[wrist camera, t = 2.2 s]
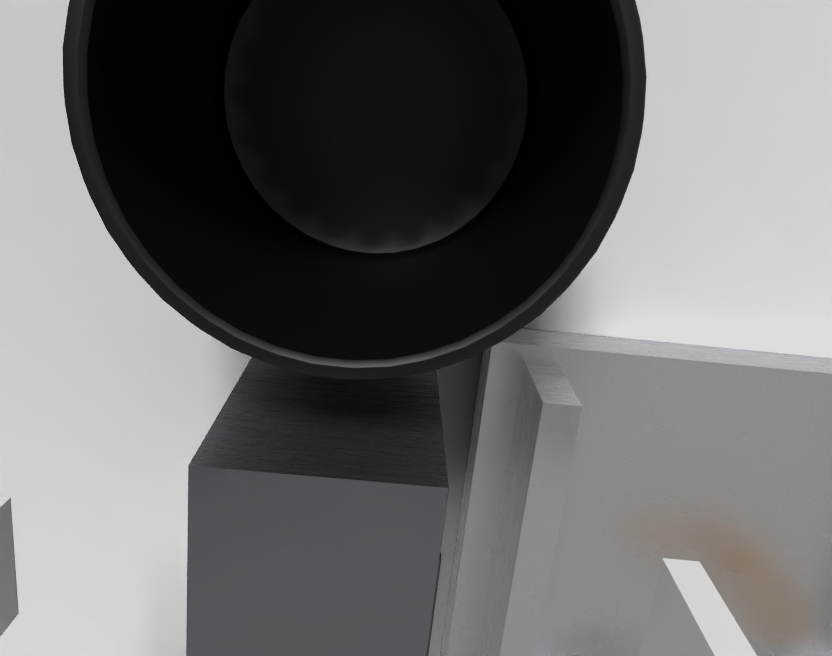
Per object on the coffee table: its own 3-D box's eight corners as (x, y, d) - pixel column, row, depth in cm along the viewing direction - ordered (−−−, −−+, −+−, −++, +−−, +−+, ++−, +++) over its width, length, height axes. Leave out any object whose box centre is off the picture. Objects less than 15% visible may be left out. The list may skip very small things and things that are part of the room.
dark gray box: (270, 480, 24) (180, 736, 14) (278, 304, 22) (183, 464, 12) (412, 492, 24) (418, 753, 15) (433, 319, 22) (454, 488, 13)
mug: (667, -55, 19) (882, -177, 11) (438, 324, 22) (459, 468, 14) (351, -271, 18) (298, -621, 9) (152, 168, 21) (-28, 221, 12)
